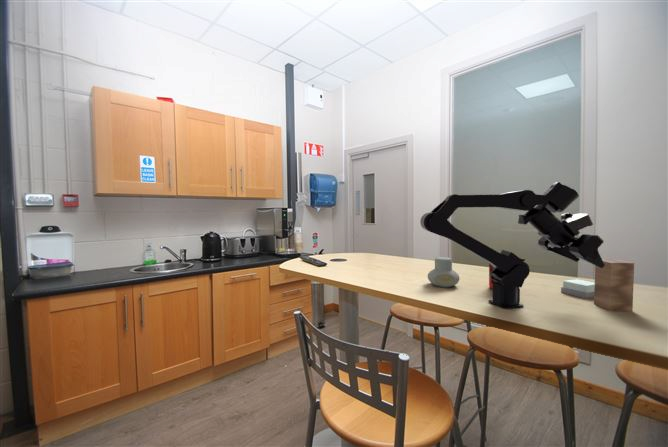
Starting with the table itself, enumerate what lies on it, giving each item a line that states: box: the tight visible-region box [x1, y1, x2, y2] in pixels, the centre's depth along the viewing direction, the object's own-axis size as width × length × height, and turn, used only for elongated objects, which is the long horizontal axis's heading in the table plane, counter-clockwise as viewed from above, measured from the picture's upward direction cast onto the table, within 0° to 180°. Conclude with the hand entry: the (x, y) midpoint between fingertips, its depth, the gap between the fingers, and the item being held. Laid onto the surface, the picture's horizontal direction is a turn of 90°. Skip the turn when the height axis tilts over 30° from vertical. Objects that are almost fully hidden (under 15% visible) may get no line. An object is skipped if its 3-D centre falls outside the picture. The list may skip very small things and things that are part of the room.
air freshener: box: [427, 256, 460, 288], centre depth 106 cm, size 11×8×10 cm
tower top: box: [562, 278, 595, 293], centre depth 93 cm, size 7×7×2 cm
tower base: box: [560, 286, 594, 299], centre depth 93 cm, size 7×7×2 cm
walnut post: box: [593, 258, 635, 312], centre depth 80 cm, size 6×6×13 cm
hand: (589, 263), depth 81 cm, fingers open, 9 cm apart
